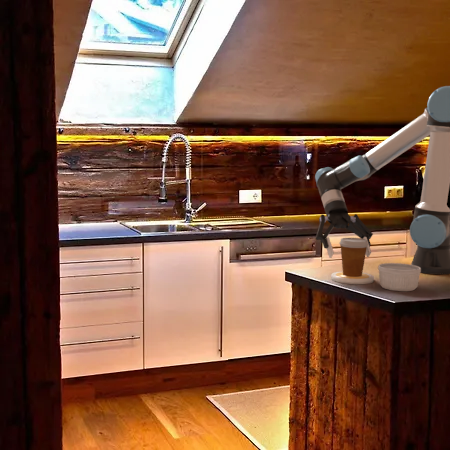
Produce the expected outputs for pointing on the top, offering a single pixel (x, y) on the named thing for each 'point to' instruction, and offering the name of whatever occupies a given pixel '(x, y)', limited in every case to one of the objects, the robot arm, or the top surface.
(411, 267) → the ramekin
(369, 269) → the top surface
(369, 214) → the top surface
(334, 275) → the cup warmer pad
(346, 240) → the disposable coffee cup
